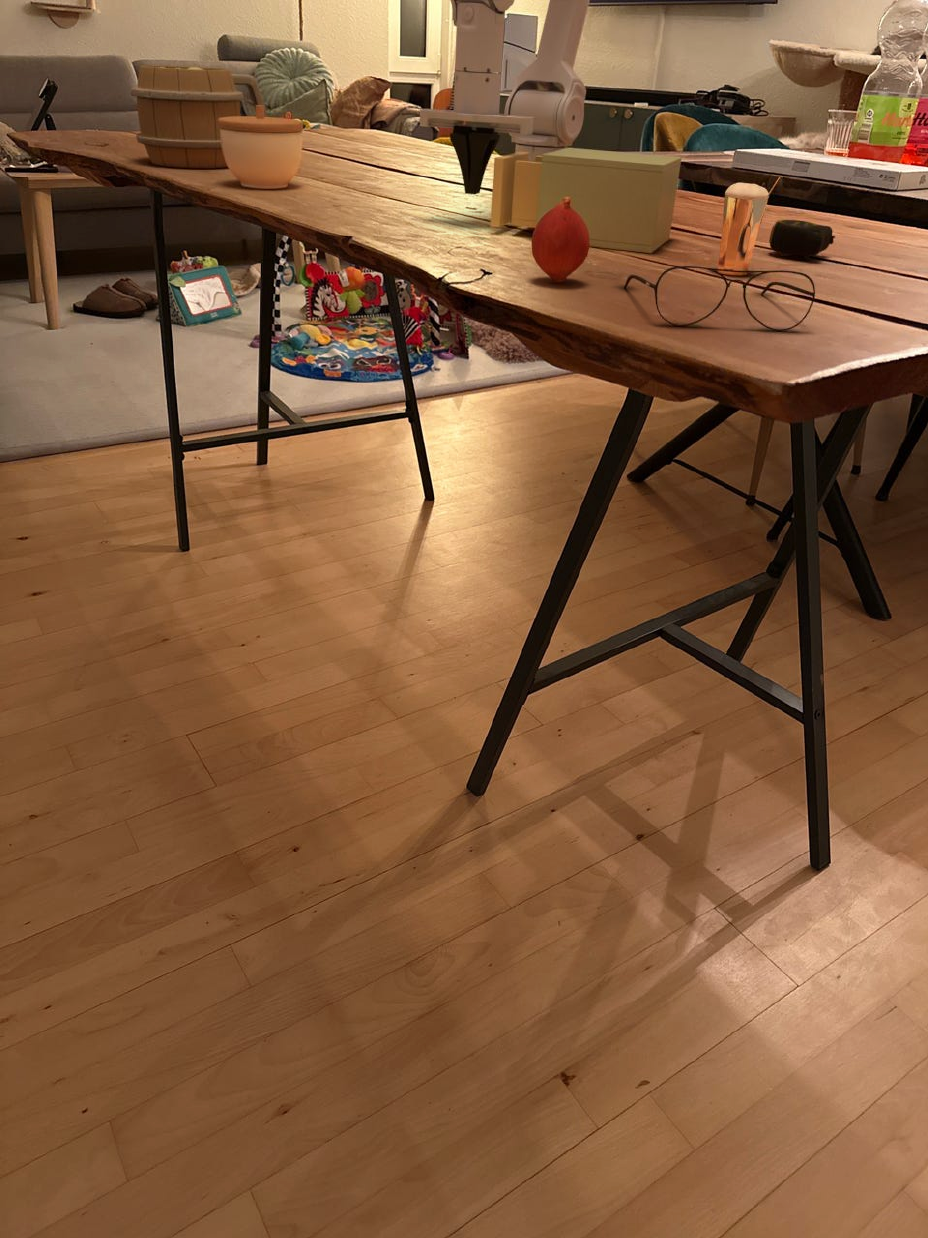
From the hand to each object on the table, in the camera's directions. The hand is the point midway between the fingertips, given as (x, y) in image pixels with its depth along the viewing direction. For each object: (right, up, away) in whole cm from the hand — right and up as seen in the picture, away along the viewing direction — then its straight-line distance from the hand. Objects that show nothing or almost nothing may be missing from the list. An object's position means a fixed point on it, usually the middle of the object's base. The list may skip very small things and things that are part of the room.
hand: (472, 193), depth 121 cm
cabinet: (+17, -7, -3) cm, 18 cm away
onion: (+8, -21, -26) cm, 35 cm away
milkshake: (+29, -17, -18) cm, 38 cm away
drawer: (+10, -5, -2) cm, 11 cm away
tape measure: (+40, -11, -7) cm, 42 cm away
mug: (-47, +26, +47) cm, 71 cm away
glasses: (+22, -26, -33) cm, 48 cm away
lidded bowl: (-32, +12, +25) cm, 43 cm away
